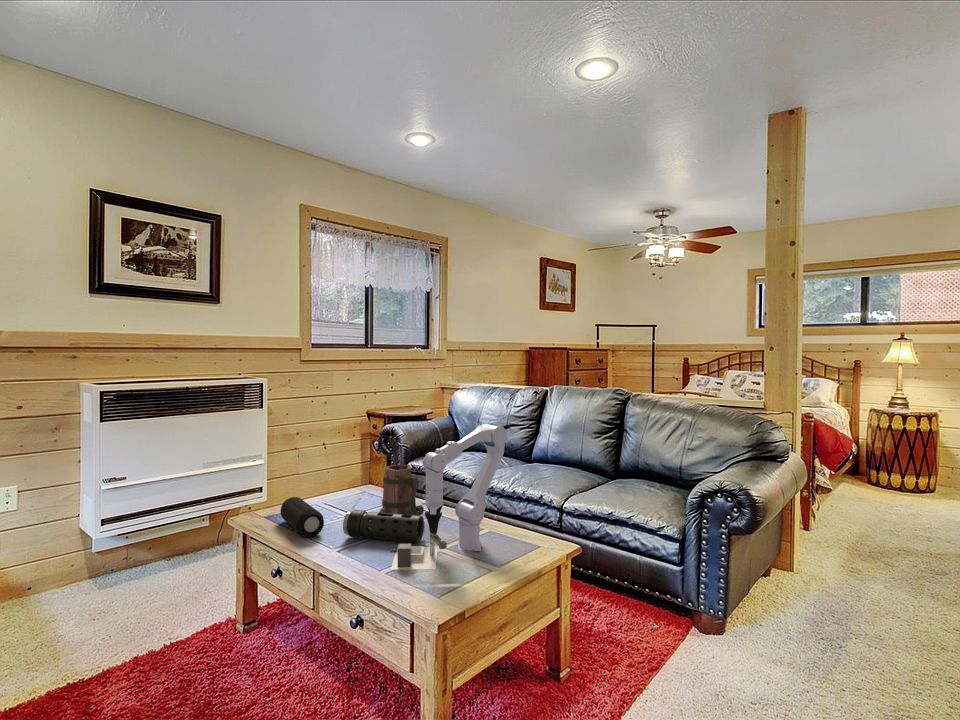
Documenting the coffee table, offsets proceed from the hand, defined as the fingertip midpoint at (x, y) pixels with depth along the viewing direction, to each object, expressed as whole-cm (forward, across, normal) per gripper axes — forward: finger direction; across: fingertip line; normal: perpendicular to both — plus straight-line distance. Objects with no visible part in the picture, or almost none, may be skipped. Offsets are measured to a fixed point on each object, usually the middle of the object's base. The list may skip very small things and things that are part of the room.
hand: (434, 529), depth 175 cm
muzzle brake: (+10, -15, -19) cm, 26 cm away
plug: (+9, +8, -10) cm, 15 cm away
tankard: (+10, -42, -15) cm, 46 cm away
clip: (+8, +6, +1) cm, 10 cm away
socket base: (+9, +2, -6) cm, 11 cm away
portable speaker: (+10, -28, -52) cm, 60 cm away
